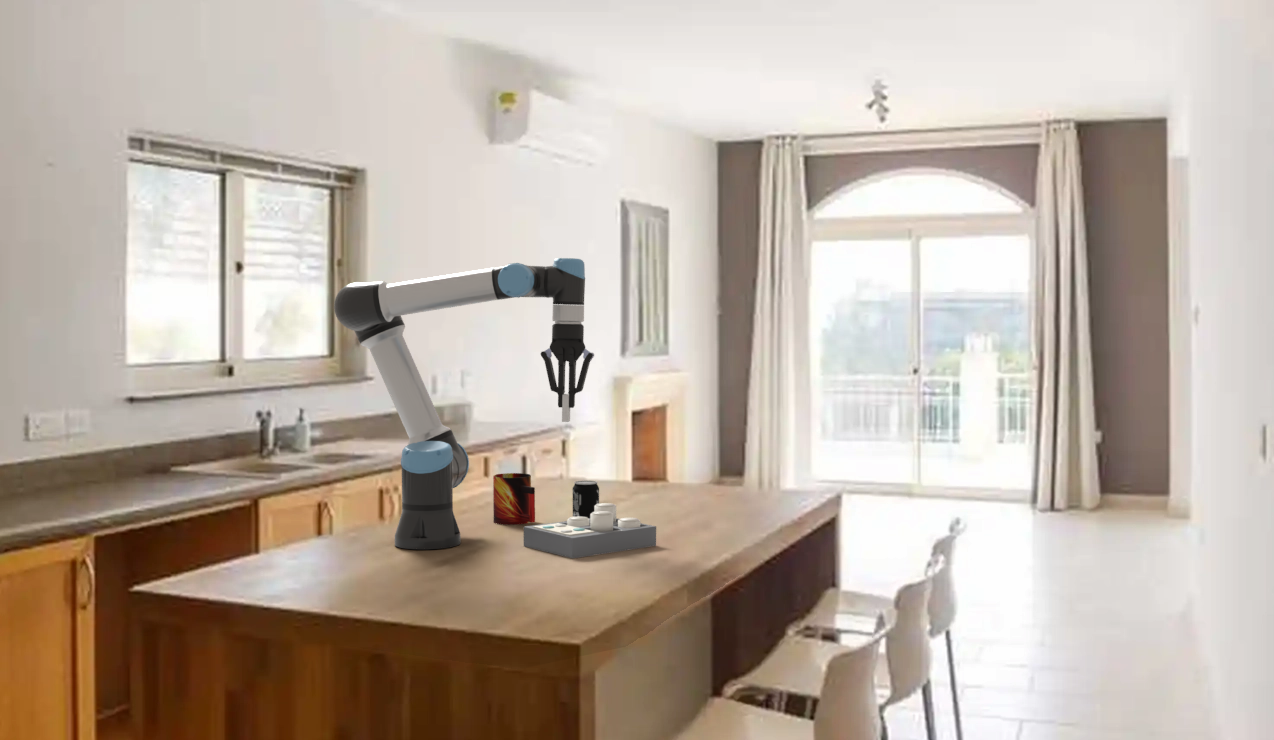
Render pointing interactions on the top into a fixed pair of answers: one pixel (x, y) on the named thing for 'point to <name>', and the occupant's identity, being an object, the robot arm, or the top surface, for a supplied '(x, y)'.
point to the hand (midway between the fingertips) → (565, 421)
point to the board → (587, 539)
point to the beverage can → (585, 498)
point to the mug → (513, 499)
